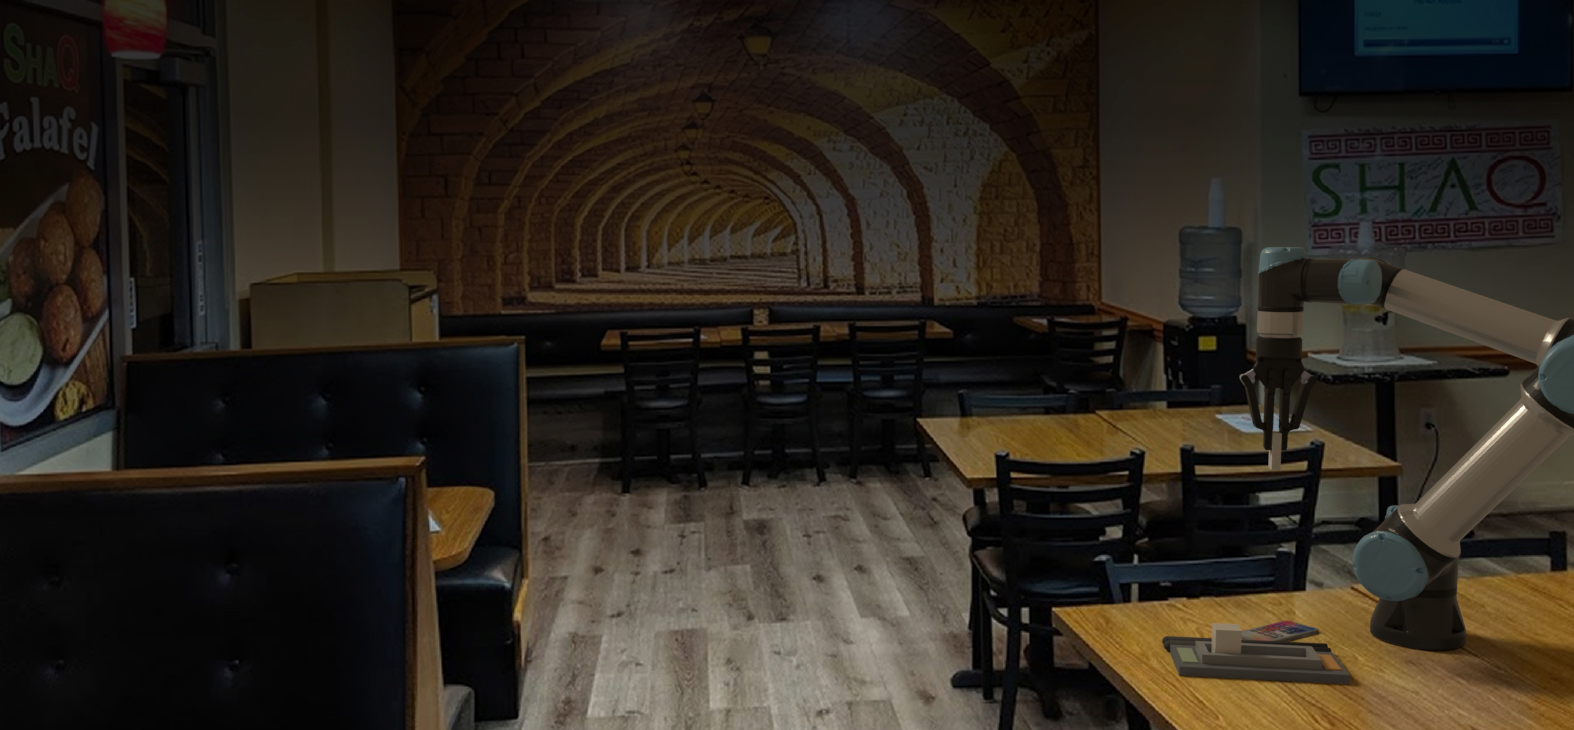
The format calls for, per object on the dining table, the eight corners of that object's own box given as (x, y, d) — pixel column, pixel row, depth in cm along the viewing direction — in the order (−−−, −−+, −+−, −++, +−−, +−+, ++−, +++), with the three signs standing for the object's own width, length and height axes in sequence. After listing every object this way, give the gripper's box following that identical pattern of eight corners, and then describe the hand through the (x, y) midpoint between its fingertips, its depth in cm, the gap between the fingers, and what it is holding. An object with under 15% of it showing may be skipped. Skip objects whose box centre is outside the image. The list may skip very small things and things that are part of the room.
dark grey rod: (1325, 652, 216) (1325, 642, 216) (1327, 655, 214) (1328, 645, 214) (1161, 644, 220) (1161, 634, 220) (1162, 647, 218) (1162, 637, 218)
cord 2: (1328, 656, 214) (1328, 646, 213) (1331, 660, 212) (1331, 649, 212) (1162, 648, 218) (1163, 638, 218) (1164, 652, 216) (1164, 641, 216)
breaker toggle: (1236, 653, 210) (1237, 624, 210) (1240, 660, 207) (1241, 630, 206) (1211, 652, 211) (1212, 622, 210) (1215, 659, 207) (1216, 629, 207)
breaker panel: (1331, 660, 211) (1332, 643, 211) (1349, 684, 201) (1350, 665, 200) (1170, 653, 216) (1170, 635, 215) (1179, 675, 205) (1179, 657, 204)
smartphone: (1230, 632, 225) (1287, 619, 233) (1230, 638, 225) (1286, 624, 233) (1265, 643, 219) (1322, 629, 226) (1265, 648, 219) (1321, 634, 226)
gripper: (1313, 334, 225) (1308, 465, 227) (1236, 333, 227) (1232, 463, 229) (1324, 337, 217) (1318, 473, 220) (1244, 336, 219) (1239, 471, 222)
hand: (1274, 468), depth 225 cm, fingers closed
